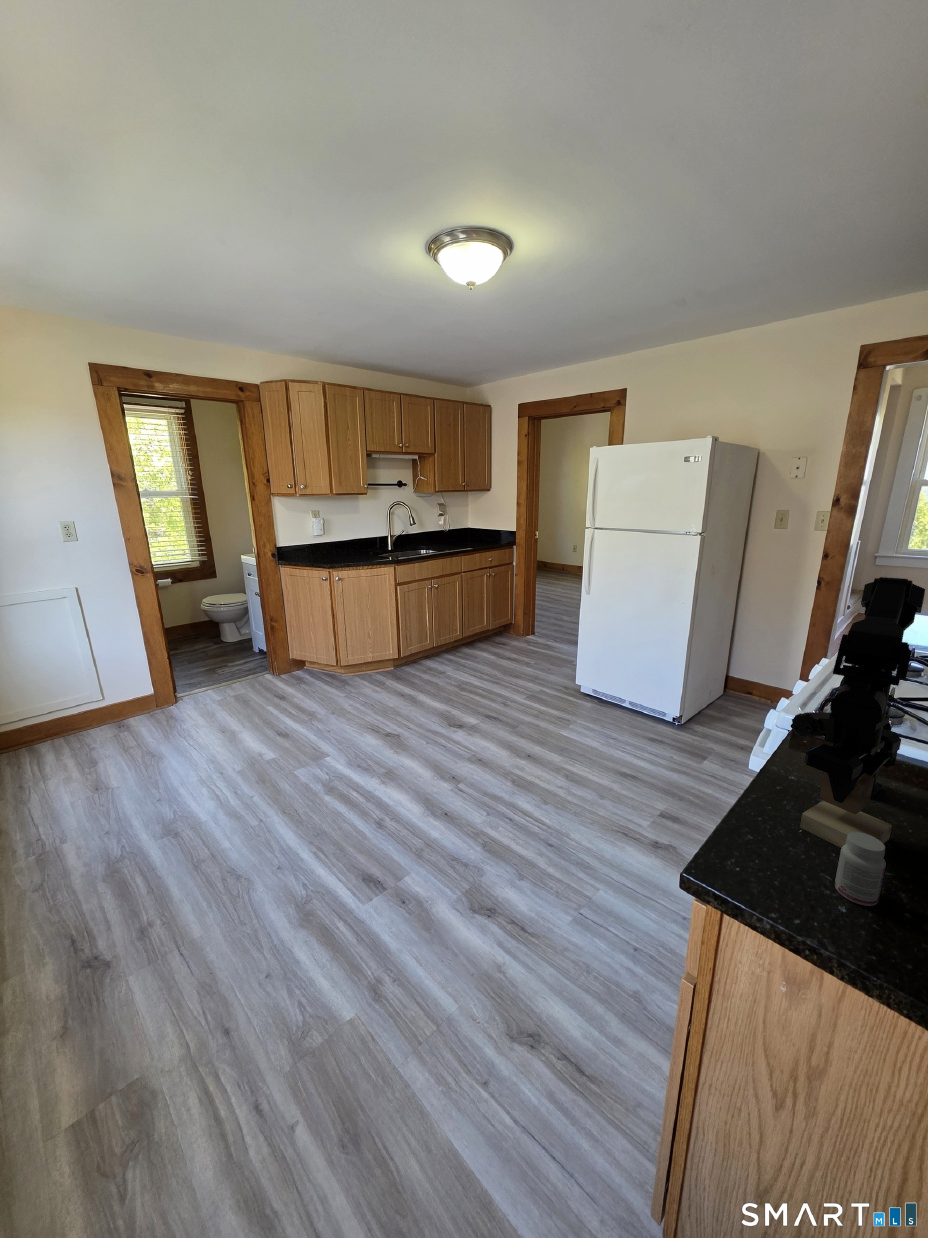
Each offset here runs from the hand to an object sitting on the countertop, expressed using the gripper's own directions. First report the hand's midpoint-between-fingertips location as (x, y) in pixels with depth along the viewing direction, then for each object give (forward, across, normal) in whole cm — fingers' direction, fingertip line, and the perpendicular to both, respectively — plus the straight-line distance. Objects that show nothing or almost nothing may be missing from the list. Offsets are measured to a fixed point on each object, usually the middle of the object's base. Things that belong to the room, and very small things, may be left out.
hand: (845, 796), depth 78 cm
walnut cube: (+1, 0, 0) cm, 1 cm away
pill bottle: (+6, +14, +8) cm, 17 cm away
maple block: (+7, 0, +1) cm, 7 cm away
